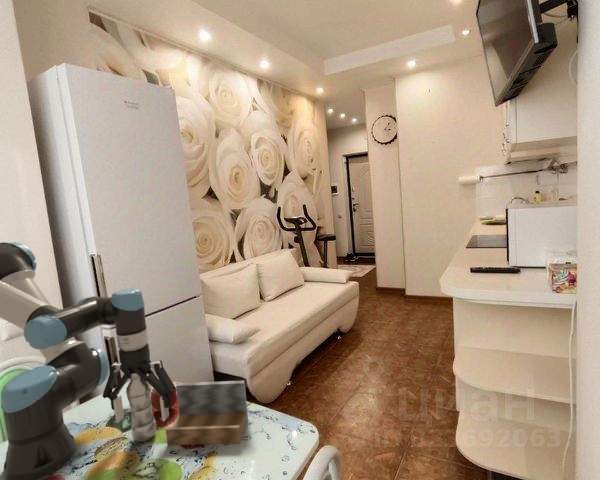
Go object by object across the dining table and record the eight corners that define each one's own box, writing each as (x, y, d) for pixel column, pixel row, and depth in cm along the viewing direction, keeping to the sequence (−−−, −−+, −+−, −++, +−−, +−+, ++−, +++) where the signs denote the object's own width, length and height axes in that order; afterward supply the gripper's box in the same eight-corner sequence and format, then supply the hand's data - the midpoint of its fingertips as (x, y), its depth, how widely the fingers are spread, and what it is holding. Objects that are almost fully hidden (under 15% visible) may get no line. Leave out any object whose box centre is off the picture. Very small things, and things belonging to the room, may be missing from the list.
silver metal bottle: (161, 429, 101) (154, 364, 99) (149, 445, 95) (141, 376, 93) (141, 429, 102) (132, 364, 100) (127, 445, 95) (118, 376, 93)
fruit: (165, 400, 117) (162, 372, 116) (183, 405, 113) (180, 376, 112) (145, 414, 110) (142, 384, 108) (164, 420, 106) (160, 388, 105)
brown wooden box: (167, 445, 94) (162, 403, 93) (182, 420, 105) (178, 383, 104) (240, 443, 93) (236, 401, 92) (248, 418, 104) (244, 380, 102)
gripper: (81, 353, 92) (92, 428, 95) (171, 349, 91) (180, 426, 93) (98, 342, 100) (108, 412, 102) (182, 338, 98) (190, 409, 101)
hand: (142, 418), depth 98 cm, fingers open, 12 cm apart
